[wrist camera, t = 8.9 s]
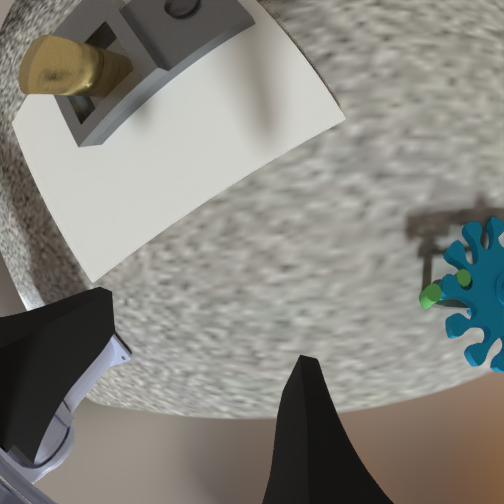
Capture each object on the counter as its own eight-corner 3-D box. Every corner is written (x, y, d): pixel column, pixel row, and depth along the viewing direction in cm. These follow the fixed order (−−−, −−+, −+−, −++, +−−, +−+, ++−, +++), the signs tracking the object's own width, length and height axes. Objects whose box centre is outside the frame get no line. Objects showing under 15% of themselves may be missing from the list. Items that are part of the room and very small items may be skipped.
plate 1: (101, 144, 16) (78, 147, 14) (58, 57, 14) (37, 54, 12) (177, 75, 14) (157, 67, 12) (118, -6, 12) (99, -16, 9)
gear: (545, 222, 11) (556, 365, 8) (510, 255, 16) (512, 372, 13) (424, 200, 15) (422, 374, 11) (405, 242, 20) (395, 374, 16)
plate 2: (101, 144, 16) (86, 146, 15) (68, 79, 15) (53, 77, 13) (255, 23, 12) (250, 12, 10) (198, -35, 10) (189, -46, 9)
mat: (99, 278, 22) (92, 283, 21) (19, 122, 18) (12, 123, 17) (343, 120, 14) (346, 119, 13) (192, -54, 10) (187, -60, 9)
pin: (107, 107, 15) (26, 107, 9) (90, 77, 14) (14, 70, 8) (140, 75, 14) (61, 57, 8) (121, 46, 13) (46, 23, 7)
